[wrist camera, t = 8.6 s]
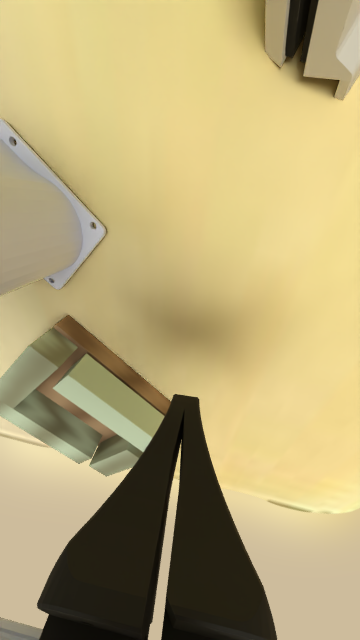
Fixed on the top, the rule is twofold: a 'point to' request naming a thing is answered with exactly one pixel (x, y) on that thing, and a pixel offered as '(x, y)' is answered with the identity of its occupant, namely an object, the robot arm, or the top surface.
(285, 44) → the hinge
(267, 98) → the top surface
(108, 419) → the hinged leg
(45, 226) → the robot arm
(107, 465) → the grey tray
